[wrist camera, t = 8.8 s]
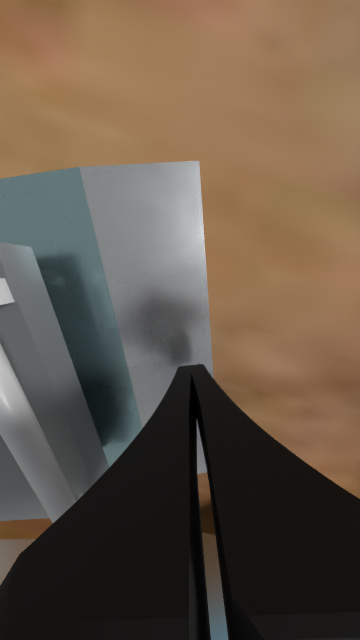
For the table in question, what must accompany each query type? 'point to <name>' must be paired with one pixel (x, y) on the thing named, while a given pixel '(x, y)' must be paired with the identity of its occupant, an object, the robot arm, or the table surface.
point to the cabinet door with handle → (39, 401)
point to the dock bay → (119, 280)
